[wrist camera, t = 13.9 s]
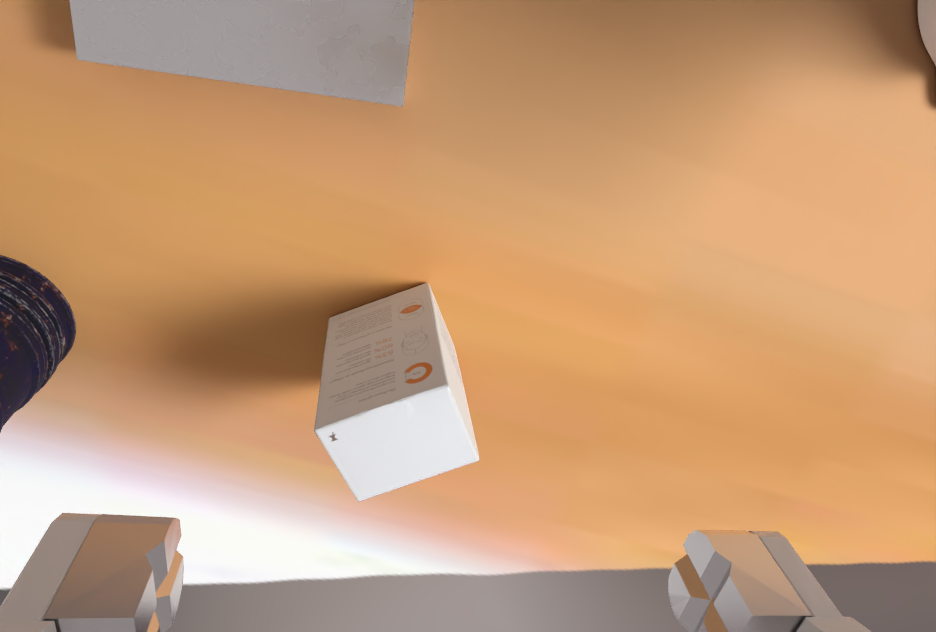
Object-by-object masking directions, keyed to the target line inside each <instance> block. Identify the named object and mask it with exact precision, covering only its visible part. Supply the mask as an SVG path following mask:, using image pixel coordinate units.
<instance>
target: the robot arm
mask: <svg viewBox="0 0 936 632" xmlns="http://www.w3.org/2000/svg"><path fill="white" fill-rule="evenodd" d="M918 22H919V28H920V32H921V36H922V39H923V42H924V45H925V47H926V49H927V51H928V53H929V55H930V56H931V58H932V60H933V62H934V64H935V66H936V0H918ZM180 538H181V529H180V520H179V519H177V518H167V517H147V516H127V515H107V514H102V515H98V514H75V513H62V514H61V515H60V516H59V517H58V518H56V519H55V520H54V521H53V522H52V523H51V525H50V526H49V528H48V529H47V531H46V533H45V534H44V536H43V538H42V539H41V541H40V543H39V544H38V546H37V547H36V549H35V551H34V552H33V554H32V556H31V557H30V559H29V561H28V562H27V564H26V566H25V567H24V569H23V570H22V572H21V574H20V575H19V577H18V579H17V580H16V582H15V584H14V585H13V587H12V588H11V590H10V592H9V594H8V595H7V597H6V598H5V600H4V602H3V603H2V605H1V606H0V632H164V631H166V630H167V629H168V628H169V627H170V626H171V625H172V624H173V621H174V618H175V614H176V611H177V608H178V604H179V600H180V594H181V589H182V584H183V571H184V565H183V556H182V555H181V554H180V553H178V552H177V551H176V549H177V546H178V543H179V540H180ZM683 546H684V548H685V550H686V553H687V555H685V556H684V557H683V558H681V559H680V560H678V561H677V562H676V563H674V566H673V568H672V571H671V573H670V575H669V589H668V591H669V592H668V594H669V598H670V602H671V607H672V609H673V612H674V614H675V616H676V618H677V621H678V622H679V623H680V624H681V625H682V626H683V627H685V628H686V629H687V630H688V631H689V632H871V631H870V630H868V629H867V628H865V627H864V626H863V625H861V624H860V623H858V622H857V621H856V620H854V619H853V618H851V617H842V615H841V614H840V613H839V611H838V610H837V608H836V607H835V605H834V604H833V603H832V601H831V600H830V598H829V597H828V596H827V594H826V593H825V592H824V590H823V589H822V587H821V586H820V585H819V583H818V582H817V580H816V579H815V578H814V576H813V575H812V573H811V572H810V571H809V569H808V568H807V566H806V565H805V564H804V562H803V561H802V559H801V558H800V557H799V555H798V554H797V553H796V551H795V550H794V548H793V547H792V546H791V544H790V543H789V541H788V540H787V539H786V538H785V537H784V536H783V535H781V534H780V533H779V532H770V531H736V530H695V531H694V532H692V533H691V534H689V535H688V537H687V539H686V541H685V543H684V545H683Z"/></svg>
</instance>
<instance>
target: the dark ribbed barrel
mask: <svg viewBox="0 0 936 632" xmlns="http://www.w3.org/2000/svg"><path fill="white" fill-rule="evenodd" d="M75 334H76V326H75V319H74V315H73V312H72V310H71V308H70V305H69V303H68V302H67V300H66V299H65V297H64V296H63V294H62V293H61V292H60V291H59V290H58V288H57V287H56V286H55V285H54V284H53V283H52V282H51V281H49V280H48V279H47V278H46V277H45V276H43V275H42V274H40V273H39V272H38V271H36V270H35V269H33V268H31V267H29V266H27V265H25V264H24V263H21V262H19V261H16V260H14V259H11V258H8V257H5V256H1V255H0V432H1V429H2V427H3V425H4V424H5V423H6V422H7V421H8V419H9V418H10V417H11V416H12V415H13V413H14V412H16V411H17V410H19V409H20V408H22V407H23V406H24V405H25V404H26V403H27V402H28V401H29V400H30V399H31V398H32V397H33V396H34V394H35V393H37V392H38V391H39V390H40V389H41V388H42V387H43V386H44V385H45V384H46V383H47V381H48V380H49V379H50V378H51V376H52V375H53V373H54V372H55V370H56V368H57V366H58V364H59V363H60V362H61V361H62V360H63V359H64V358H65V357H66V355H67V354H68V352H69V351H70V349H71V348H72V345H73V343H74V340H75Z"/></svg>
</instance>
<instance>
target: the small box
mask: <svg viewBox="0 0 936 632" xmlns="http://www.w3.org/2000/svg"><path fill="white" fill-rule="evenodd" d="M314 432H315V433H316V435H317V436H318V438H319V439H320V441H321V442H322V444H323V445H324V447H325V449H326V450H327V452H328V454H329V455H330V457H331V458H332V460H333V462H334V463H335V465H336V467H337V468H338V470H339V471H340V473H341V475H342V476H343V478H344V479H345V481H346V483H347V484H348V486H349V488H350V489H351V491H352V492H353V494H354V495H355V497H356V499H357V501H358V502H360V501H363V500H366V499H369V498H371V497H374V496H377V495H380V494H383V493H386V492H389V491H392V490H395V489H398V488H401V487H403V486H406V485H409V484H412V483H415V482H418V481H421V480H424V479H427V478H430V477H432V476H435V475H438V474H441V473H444V472H447V471H450V470H453V469H456V468H459V467H462V466H465V465H468V464H471V463H474V462H477V461H479V455H478V450H477V445H476V440H475V436H474V431H473V427H472V422H471V418H470V413H469V409H468V404H467V400H466V395H465V390H464V386H463V381H462V377H461V372H460V368H459V364H458V359H457V355H456V351H455V347H454V344H453V342H452V339H451V337H450V334H449V332H448V330H447V327H446V325H445V322H444V320H443V317H442V315H441V312H440V310H439V307H438V305H437V302H436V300H435V297H434V295H433V292H432V290H431V287H430V285H429V284H428V283H425V284H422V285H419V286H416V287H414V288H411V289H408V290H405V291H402V292H399V293H397V294H394V295H391V296H388V297H386V298H383V299H380V300H377V301H374V302H371V303H369V304H366V305H363V306H360V307H358V308H355V309H352V310H349V311H347V312H344V313H341V314H338V315H336V316H333V317H330V318H329V322H328V329H327V336H326V344H325V351H324V359H323V367H322V375H321V383H320V390H319V398H318V405H317V413H316V420H315V428H314Z"/></svg>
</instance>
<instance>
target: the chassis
mask: <svg viewBox="0 0 936 632" xmlns="http://www.w3.org/2000/svg"><path fill="white" fill-rule="evenodd" d="M69 2H70V9H71V17H72V24H73V32H74V39H75V47H76V54H77V60H82V61H89V62H96V63H103V64H110V65H117V66H124V67H131V68H138V69H145V70H152V71H159V72H166V73H173V74H180V75H187V76H194V77H200V78H207V79H214V80H221V81H228V82H235V83H242V84H249V85H256V86H263V87H270V88H277V89H284V90H291V91H298V92H305V93H312V94H319V95H326V96H333V97H340V98H347V99H354V100H361V101H368V102H375V103H382V104H389V105H396V106H403V103H404V94H405V84H406V75H407V65H408V56H409V46H410V37H411V27H412V18H413V9H414V0H69Z"/></svg>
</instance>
